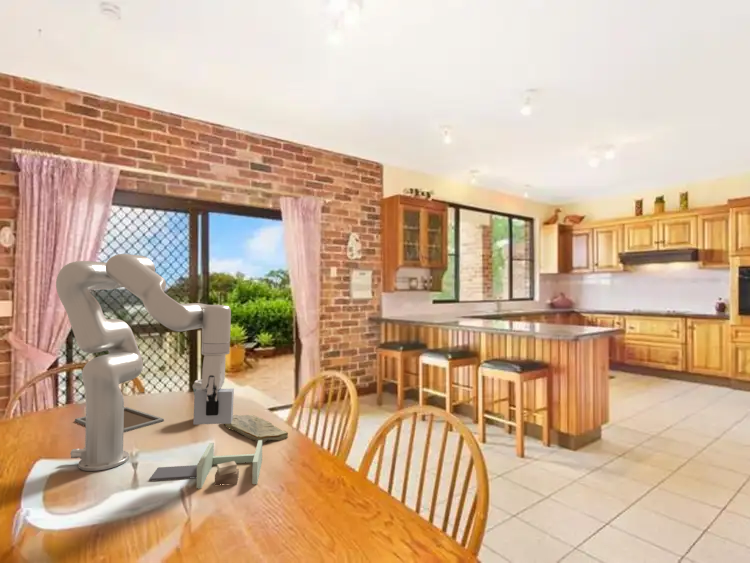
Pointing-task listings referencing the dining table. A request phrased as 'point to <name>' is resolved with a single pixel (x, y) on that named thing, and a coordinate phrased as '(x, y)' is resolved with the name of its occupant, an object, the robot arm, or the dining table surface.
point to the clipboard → (132, 419)
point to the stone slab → (256, 428)
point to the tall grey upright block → (223, 410)
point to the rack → (210, 459)
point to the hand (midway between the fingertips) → (213, 412)
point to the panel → (174, 472)
